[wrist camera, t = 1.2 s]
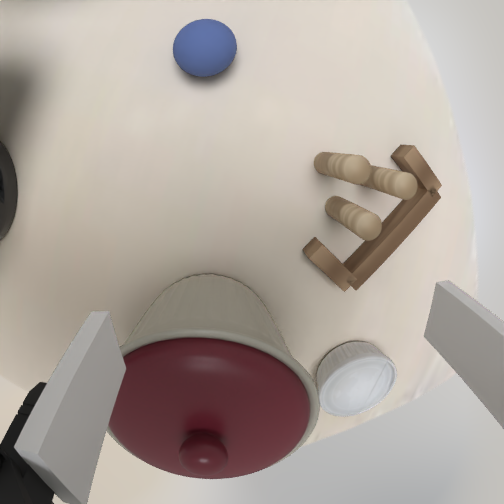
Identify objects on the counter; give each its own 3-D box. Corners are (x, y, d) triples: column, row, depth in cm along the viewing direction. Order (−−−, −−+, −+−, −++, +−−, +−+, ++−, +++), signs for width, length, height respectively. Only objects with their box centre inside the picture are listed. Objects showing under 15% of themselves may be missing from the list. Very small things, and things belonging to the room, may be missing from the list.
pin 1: (320, 207, 34) (351, 227, 25) (335, 191, 33) (370, 207, 25) (335, 221, 34) (368, 246, 26) (349, 206, 34) (386, 226, 26)
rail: (302, 249, 35) (309, 258, 32) (400, 144, 32) (414, 145, 29) (341, 286, 37) (349, 297, 34) (431, 187, 34) (445, 191, 31)
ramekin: (385, 375, 43) (399, 397, 38) (319, 403, 44) (328, 427, 39) (377, 321, 40) (394, 342, 35) (301, 352, 40) (310, 378, 35)
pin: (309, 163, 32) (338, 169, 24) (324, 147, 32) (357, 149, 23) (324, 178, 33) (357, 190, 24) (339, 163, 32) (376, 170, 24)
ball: (165, 60, 27) (153, 43, 22) (206, 22, 26) (202, -2, 21) (207, 93, 29) (203, 81, 23) (247, 54, 28) (252, 35, 22)
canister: (142, 369, 39) (107, 502, 19) (133, 242, 33) (41, 356, 13) (274, 377, 41) (303, 512, 21) (295, 252, 35) (371, 377, 15)
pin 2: (351, 174, 33) (390, 185, 24) (365, 160, 32) (407, 166, 24) (364, 190, 34) (405, 205, 25) (378, 175, 33) (421, 186, 25)
